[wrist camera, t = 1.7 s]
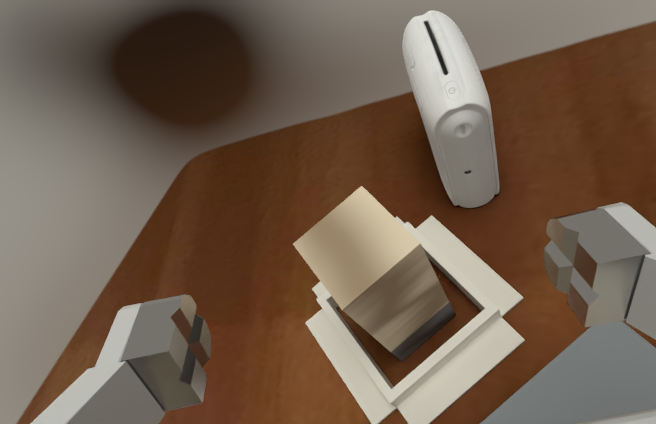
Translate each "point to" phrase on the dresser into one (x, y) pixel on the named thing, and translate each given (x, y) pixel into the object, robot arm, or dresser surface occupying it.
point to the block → (377, 273)
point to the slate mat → (588, 381)
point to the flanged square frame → (445, 363)
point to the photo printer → (452, 108)
